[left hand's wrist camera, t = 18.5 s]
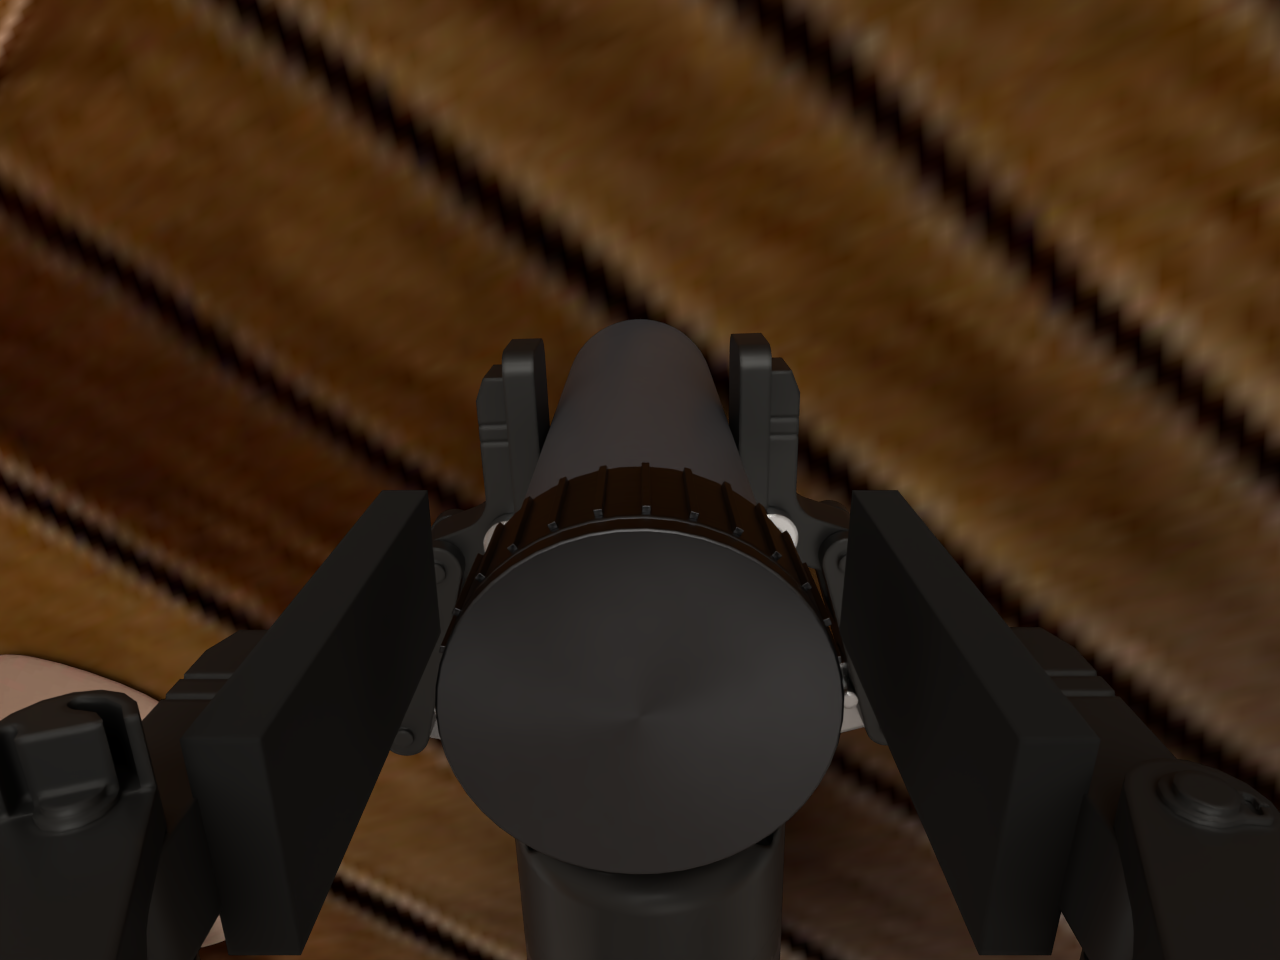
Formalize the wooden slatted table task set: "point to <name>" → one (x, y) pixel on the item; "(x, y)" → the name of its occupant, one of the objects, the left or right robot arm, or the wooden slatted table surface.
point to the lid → (639, 674)
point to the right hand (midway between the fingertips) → (635, 345)
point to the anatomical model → (30, 680)
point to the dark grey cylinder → (639, 411)
